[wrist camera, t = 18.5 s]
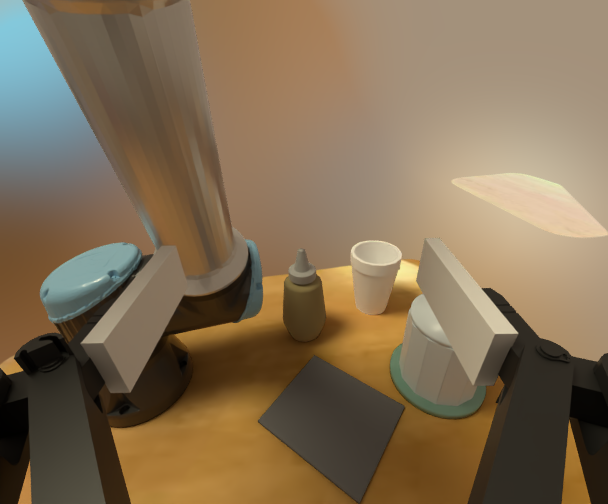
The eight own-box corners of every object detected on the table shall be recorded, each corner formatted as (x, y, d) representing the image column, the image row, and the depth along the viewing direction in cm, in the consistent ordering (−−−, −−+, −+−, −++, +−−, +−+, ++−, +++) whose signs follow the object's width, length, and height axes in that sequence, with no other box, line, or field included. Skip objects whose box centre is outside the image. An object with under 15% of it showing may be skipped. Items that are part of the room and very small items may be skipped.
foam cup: (399, 299, 64) (408, 247, 57) (385, 326, 57) (393, 271, 51) (358, 286, 68) (361, 236, 62) (340, 310, 62) (342, 257, 55)
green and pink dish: (375, 385, 46) (378, 365, 44) (407, 331, 56) (411, 312, 54) (473, 439, 39) (483, 419, 37) (491, 366, 49) (499, 346, 46)
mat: (258, 422, 42) (257, 420, 42) (314, 356, 52) (314, 355, 51) (359, 504, 34) (359, 502, 33) (404, 407, 43) (404, 406, 43)
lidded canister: (389, 379, 46) (401, 311, 39) (413, 336, 54) (427, 272, 46) (466, 420, 40) (496, 349, 33) (481, 365, 48) (508, 297, 41)
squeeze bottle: (333, 339, 55) (334, 256, 46) (292, 352, 53) (285, 268, 43) (316, 312, 61) (314, 235, 52) (279, 322, 59) (270, 244, 50)
